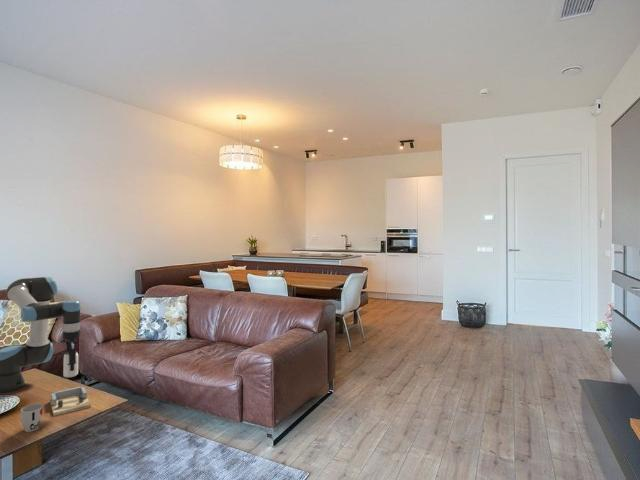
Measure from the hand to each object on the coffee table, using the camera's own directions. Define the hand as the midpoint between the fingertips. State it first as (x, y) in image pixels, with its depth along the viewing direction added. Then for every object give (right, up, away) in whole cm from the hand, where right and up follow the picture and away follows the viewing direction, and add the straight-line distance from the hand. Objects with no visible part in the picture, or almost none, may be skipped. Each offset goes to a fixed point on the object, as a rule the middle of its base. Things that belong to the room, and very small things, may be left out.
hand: (70, 374), depth 196 cm
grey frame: (-6, -15, +7) cm, 18 cm away
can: (0, -1, 0) cm, 1 cm away
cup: (-4, -18, -22) cm, 28 cm away
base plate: (-3, -17, +3) cm, 18 cm away
